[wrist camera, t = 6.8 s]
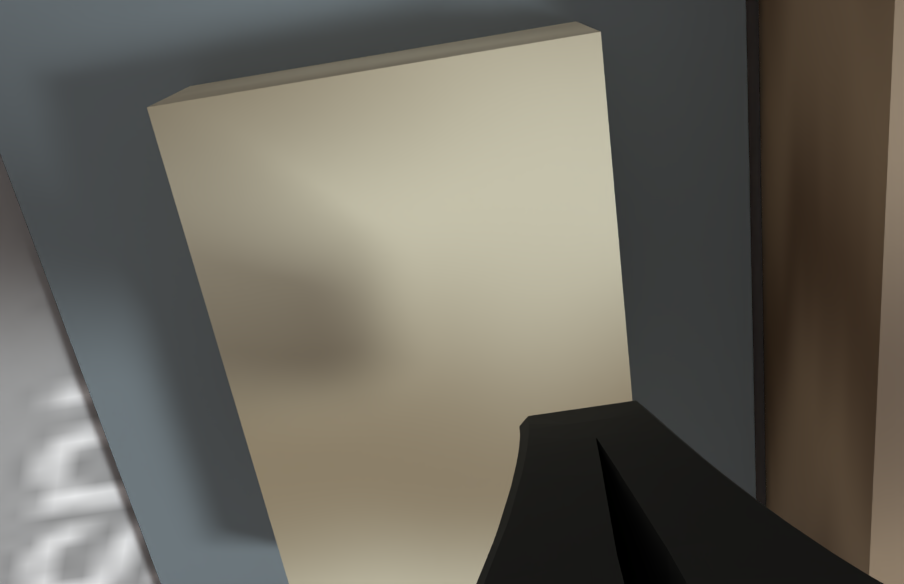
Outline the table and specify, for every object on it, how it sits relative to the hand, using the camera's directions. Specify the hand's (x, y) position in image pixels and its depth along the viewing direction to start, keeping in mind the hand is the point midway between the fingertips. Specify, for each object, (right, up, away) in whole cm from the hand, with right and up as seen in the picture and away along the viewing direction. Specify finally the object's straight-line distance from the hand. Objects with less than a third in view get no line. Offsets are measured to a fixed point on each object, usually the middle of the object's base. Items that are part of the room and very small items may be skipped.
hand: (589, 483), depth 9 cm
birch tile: (-2, +1, +3) cm, 4 cm away
